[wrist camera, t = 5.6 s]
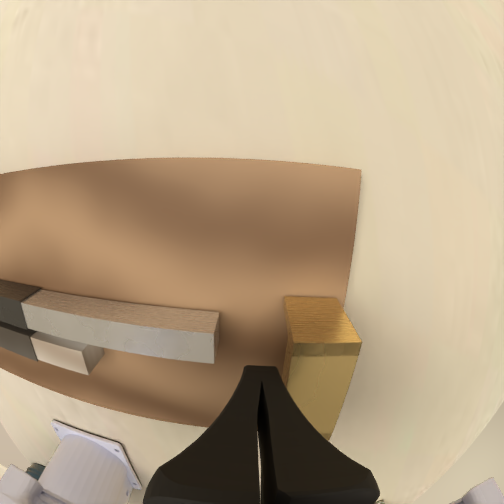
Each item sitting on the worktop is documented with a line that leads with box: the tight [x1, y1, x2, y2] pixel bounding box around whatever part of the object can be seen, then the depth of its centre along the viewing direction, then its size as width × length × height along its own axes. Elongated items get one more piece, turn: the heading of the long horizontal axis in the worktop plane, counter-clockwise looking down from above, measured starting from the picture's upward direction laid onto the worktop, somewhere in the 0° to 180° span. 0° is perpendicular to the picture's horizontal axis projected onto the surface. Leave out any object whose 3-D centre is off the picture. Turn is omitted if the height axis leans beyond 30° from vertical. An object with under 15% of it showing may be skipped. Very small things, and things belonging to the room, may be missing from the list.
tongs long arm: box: [0, 280, 219, 364], centre depth 13 cm, size 2×17×2 cm, turn 87°
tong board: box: [0, 158, 361, 431], centre depth 13 cm, size 16×28×4 cm, turn 87°
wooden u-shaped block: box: [282, 296, 362, 440], centre depth 12 cm, size 6×2×4 cm, turn 177°
